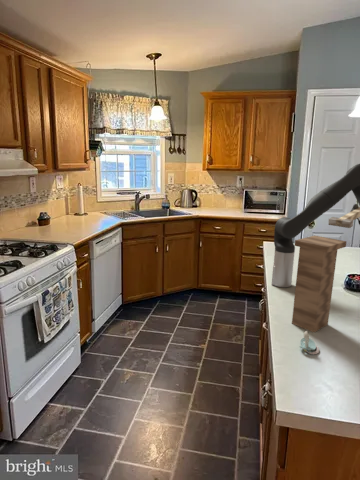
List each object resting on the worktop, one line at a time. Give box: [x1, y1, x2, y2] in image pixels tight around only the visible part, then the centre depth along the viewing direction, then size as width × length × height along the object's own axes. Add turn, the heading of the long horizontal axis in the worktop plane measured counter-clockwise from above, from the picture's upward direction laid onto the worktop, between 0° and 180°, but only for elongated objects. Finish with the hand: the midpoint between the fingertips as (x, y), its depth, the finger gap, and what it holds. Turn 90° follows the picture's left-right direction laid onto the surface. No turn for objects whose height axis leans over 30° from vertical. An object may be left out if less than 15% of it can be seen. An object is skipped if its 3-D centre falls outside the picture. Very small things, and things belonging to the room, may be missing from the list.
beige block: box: [328, 206, 360, 229], centre depth 138 cm, size 24×8×2 cm, turn 131°
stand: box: [291, 235, 347, 333], centre depth 127 cm, size 14×12×32 cm
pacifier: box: [299, 330, 320, 355], centre depth 112 cm, size 7×6×6 cm
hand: (358, 206), depth 139 cm, fingers closed on beige block, 2 cm apart
